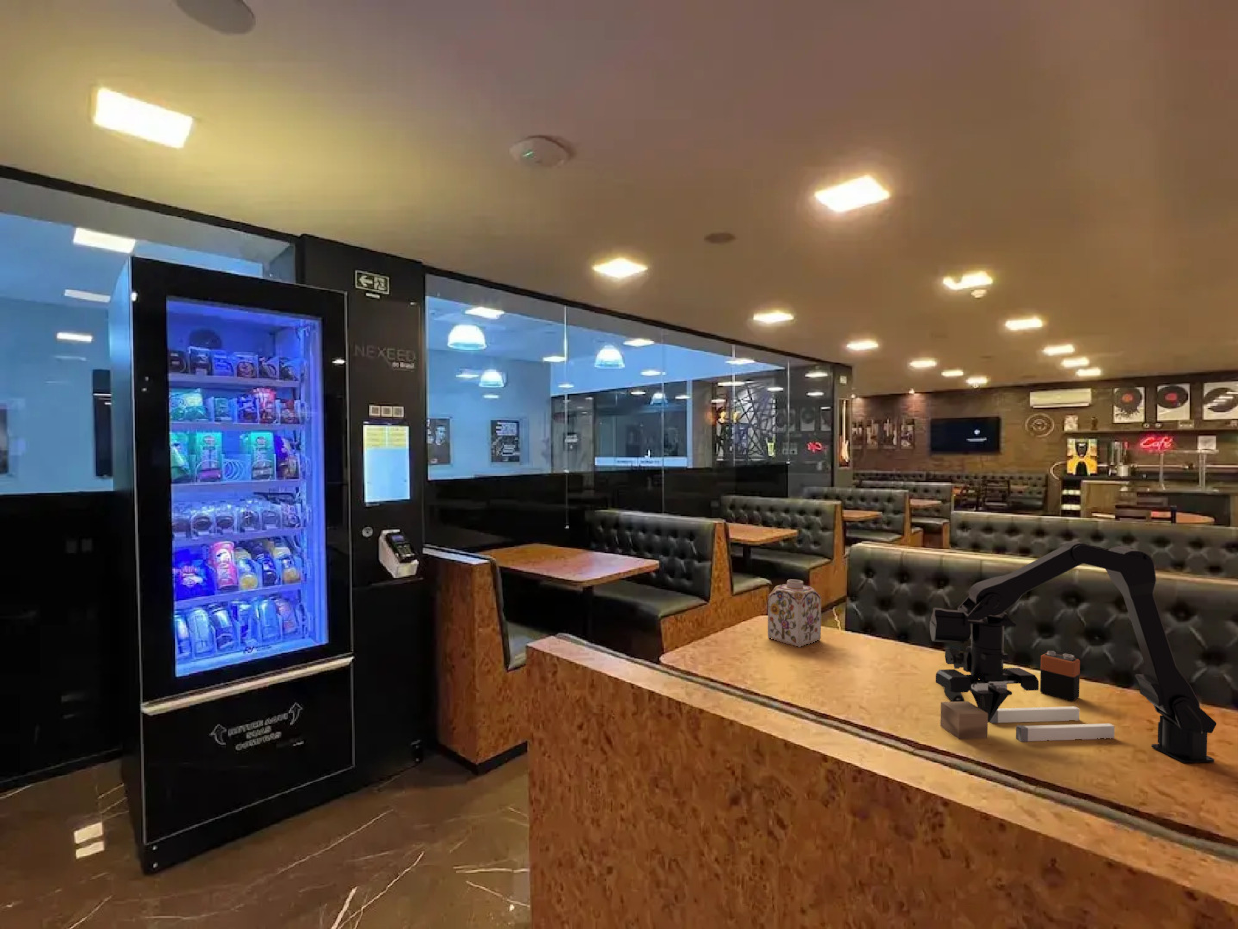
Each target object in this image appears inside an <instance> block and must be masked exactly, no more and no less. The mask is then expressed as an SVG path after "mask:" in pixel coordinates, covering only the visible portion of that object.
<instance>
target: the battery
mask: <svg viewBox="0 0 1238 929" xmlns="http://www.w3.org/2000/svg"><path fill="white" fill-rule="evenodd" d="M1080 669H1081V660H1080V659H1079V658H1076V657H1075V655H1073V654H1069V653H1063V654H1058V653H1056V651H1054V650H1047V652H1046V653H1044V654H1042V655H1040V672H1039V673H1040V675H1039V676H1040V678H1039V680H1040V682H1039V691H1040V693H1041V694H1044V693H1045V695H1047V694H1048V696H1051V695H1052V696H1053V697H1055V698H1058V697H1059V699H1063V700H1066V699H1067V700H1066V701H1069V700H1070V702H1074V701H1075V700H1077V699H1078V698H1079V697H1080V683H1081V682H1080V681H1081V680H1080V676H1081V670H1080ZM1052 696H1051V697H1052Z"/></svg>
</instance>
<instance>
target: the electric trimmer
mask: <svg viewBox="0 0 1238 929" xmlns="http://www.w3.org/2000/svg"><path fill="white" fill-rule="evenodd" d="M943 688H944V687H943ZM943 692H944V694H945V696H946V697H947V698H948V699H949V700H950V701H951V702H963V701H965V699H964V697H963V694H962V692H960V693H955V692H951V691H949V690H947V689H946V688H944V690H943Z"/></svg>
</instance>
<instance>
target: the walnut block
mask: <svg viewBox="0 0 1238 929" xmlns="http://www.w3.org/2000/svg"><path fill="white" fill-rule="evenodd" d="M939 724H940V725H939V726H940V727H941V728H942V729H943V730H946V731H947V732H948V733H950V735H952V736H954V737H955V738H956V739H958V740H975V739H978V740H980V739H981V740H982V739H988V731H989V730H988V727H989V726H988V724H989V722H988V713H986V712H985V711H983V710H981V709H980V708H978V706H977V705H975V704H973V703H972V702H970V701H969V700H968V701H965V700H964V701H963V702H953V701H940V723H939Z"/></svg>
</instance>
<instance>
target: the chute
mask: <svg viewBox="0 0 1238 929" xmlns="http://www.w3.org/2000/svg"><path fill="white" fill-rule="evenodd" d="M1069 720H1075V721H1080V708H1079V707H1077V706H1047V707H1046V706H1042V707H1041V706H1039V707H1037V706H1036V707H1008V708H1003V707H1002V708H1000V707H999V708H998V709H997V711H996V712H995V714H994V715H993V717H992V719H991V720H990V722H989V723H991V724H999V723H1000V724H1001V723H1003V724H1004V723H1006V724H1007V723H1029V722H1030V723H1034V722H1063V721H1065V722H1066V721H1067V722H1070V721H1069ZM1097 738H1098V739H1097ZM1100 738H1104V739H1103V740H1105V739H1106V738H1110V739H1111V738H1113V739H1115V725H1114V724H1112V723H1109V722H1108V723H1085V724H1083V723H1081V724H1080V723H1078V724H1077V723H1076V724H1048V725H1047V724H1046V725H1045V724H1044V725H1043V724H1042V725H1020V724H1019V725H1015V739H1016V740H1018V741H1019V742H1021V743H1024V742H1026V743H1027V742H1041V741H1042V742H1043V741H1044V742H1046V741H1047V740H1049V741H1073V740H1074V741H1076V740H1075V739H1082V740H1101V739H1100ZM1110 739H1109V740H1110ZM1111 740H1112V739H1111ZM1049 741H1048V742H1049Z"/></svg>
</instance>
